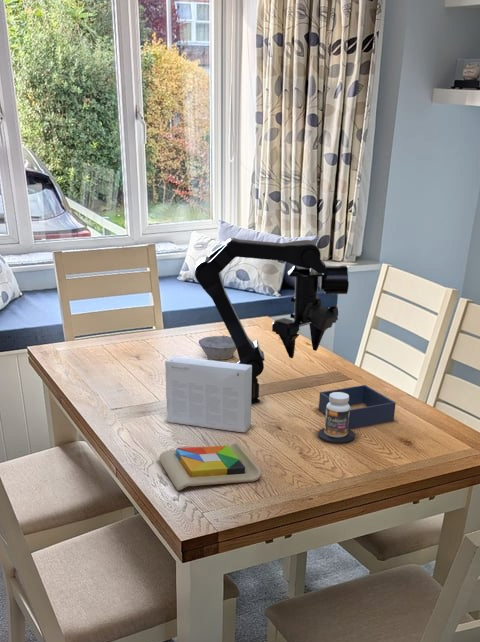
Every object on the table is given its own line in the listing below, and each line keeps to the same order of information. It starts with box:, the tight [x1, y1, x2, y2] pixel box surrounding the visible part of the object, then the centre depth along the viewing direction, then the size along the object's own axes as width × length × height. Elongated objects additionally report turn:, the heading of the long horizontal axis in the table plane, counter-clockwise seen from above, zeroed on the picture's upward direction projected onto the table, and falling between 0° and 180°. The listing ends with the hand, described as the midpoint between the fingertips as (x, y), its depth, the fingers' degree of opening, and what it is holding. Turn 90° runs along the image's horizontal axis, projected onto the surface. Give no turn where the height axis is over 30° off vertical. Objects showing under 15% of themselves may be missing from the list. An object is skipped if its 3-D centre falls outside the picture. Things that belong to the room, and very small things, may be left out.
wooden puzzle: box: [158, 442, 262, 491], centre depth 165 cm, size 18×19×4 cm
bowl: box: [198, 335, 237, 361], centre depth 235 cm, size 13×13×5 cm
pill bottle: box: [324, 392, 351, 438], centre depth 180 cm, size 6×6×10 cm
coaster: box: [317, 427, 356, 445], centre depth 182 cm, size 9×9×1 cm
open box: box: [318, 384, 397, 430], centre depth 193 cm, size 14×14×5 cm
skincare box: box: [164, 355, 252, 433], centre depth 185 cm, size 21×6×16 cm, turn 71°
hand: (303, 354), depth 197 cm, fingers open, 9 cm apart
